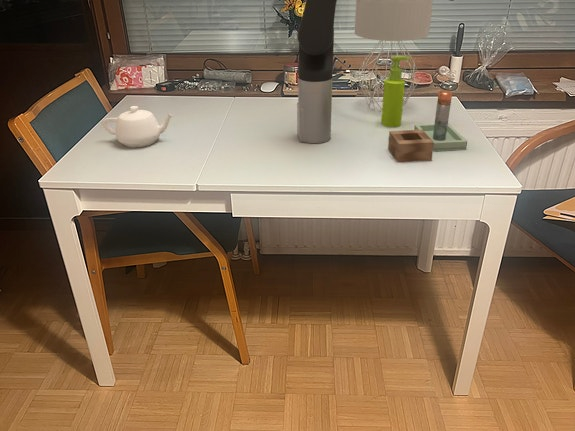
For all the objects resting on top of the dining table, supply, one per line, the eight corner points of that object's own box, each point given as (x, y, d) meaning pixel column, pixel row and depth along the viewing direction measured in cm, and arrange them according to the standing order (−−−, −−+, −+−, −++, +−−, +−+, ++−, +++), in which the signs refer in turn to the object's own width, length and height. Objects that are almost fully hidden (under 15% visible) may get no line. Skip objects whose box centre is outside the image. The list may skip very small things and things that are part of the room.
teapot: (180, 133, 156) (176, 99, 151) (172, 149, 146) (167, 114, 141) (112, 133, 157) (106, 100, 151) (99, 150, 146) (92, 114, 141)
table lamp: (406, 122, 161) (421, -22, 141) (339, 111, 171) (344, -25, 151) (429, 102, 178) (445, -30, 158) (366, 92, 188) (374, -32, 168)
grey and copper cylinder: (435, 140, 146) (441, 94, 140) (430, 136, 149) (436, 90, 143) (447, 140, 147) (454, 94, 140) (443, 135, 150) (449, 90, 143)
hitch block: (397, 162, 136) (399, 144, 134) (387, 148, 144) (389, 131, 142) (431, 160, 137) (433, 142, 135) (420, 146, 145) (422, 129, 142)
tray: (429, 151, 142) (431, 143, 141) (413, 132, 154) (414, 124, 153) (466, 149, 143) (467, 141, 142) (447, 131, 155) (448, 123, 154)
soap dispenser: (404, 127, 157) (411, 59, 148) (380, 126, 159) (385, 58, 149) (404, 121, 162) (411, 54, 152) (381, 119, 164) (386, 53, 154)
